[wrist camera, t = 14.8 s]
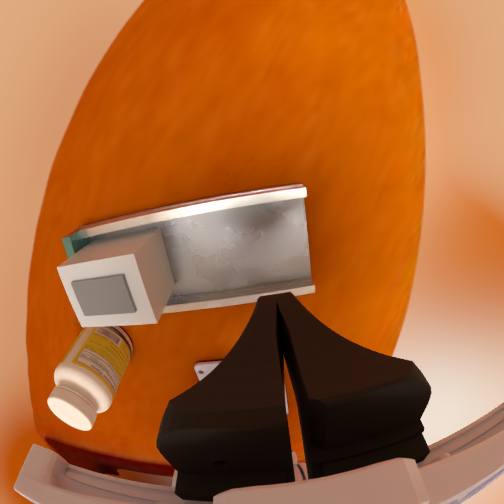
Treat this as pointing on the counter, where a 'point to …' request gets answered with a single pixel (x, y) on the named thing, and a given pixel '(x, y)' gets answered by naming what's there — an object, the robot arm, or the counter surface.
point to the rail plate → (223, 245)
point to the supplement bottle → (90, 375)
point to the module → (119, 280)
